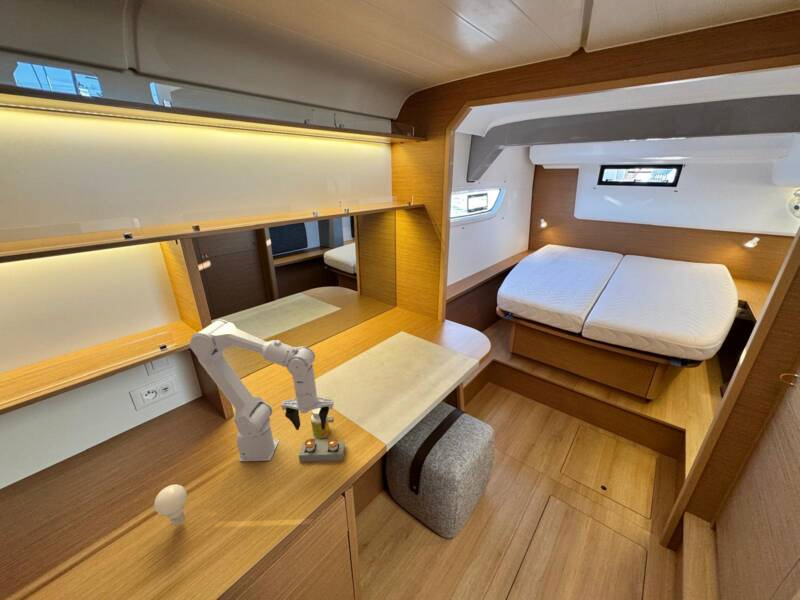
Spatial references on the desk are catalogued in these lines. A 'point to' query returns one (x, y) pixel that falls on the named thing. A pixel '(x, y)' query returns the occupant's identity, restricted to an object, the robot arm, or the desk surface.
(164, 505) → the lightbulb
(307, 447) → the plunger
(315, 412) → the supplement bottle
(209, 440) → the desk surface
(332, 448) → the plunger
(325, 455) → the housing
